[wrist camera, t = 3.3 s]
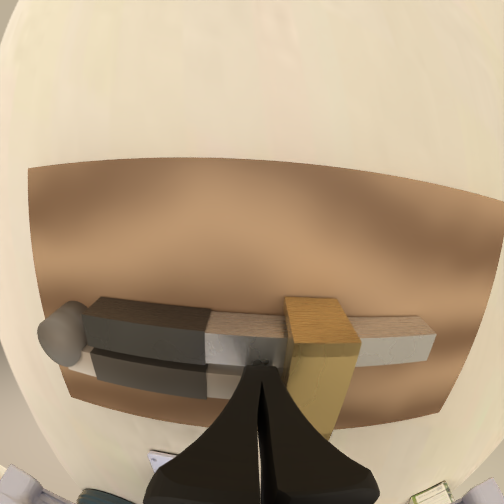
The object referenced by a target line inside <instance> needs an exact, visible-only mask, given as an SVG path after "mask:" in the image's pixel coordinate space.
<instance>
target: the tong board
mask: <svg viewBox="0 0 504 504" xmlns="http://www.w3.org/2000/svg"><path fill="white" fill-rule="evenodd" d="M28 203H29V221H30V233H31V242H32V251H33V258H34V265H35V271H36V277H37V283H38V288H39V293H40V298H41V303H42V307H43V311H44V315H45V320H44V321H43V322H41V323H40V324H39V326H38V330H37V334H38V339H39V342H40V344H41V346H42V348H43V350H44V351H45V353H46V354H47V355H48V356H49V357H50V358H51V359H52V360H53V361H55V362H56V363H58V364H59V366H60V369H61V372H62V375H63V377H64V380H65V383H66V385H67V388H68V390H69V393H70V395H71V397H73V398H76V399H79V400H82V401H85V402H89V403H92V404H95V405H99V406H102V407H106V408H109V409H113V410H117V411H121V412H125V413H129V414H133V415H138V416H142V417H147V418H152V419H157V420H162V421H168V422H174V423H180V424H187V425H194V426H202V427H210V426H211V424H212V423H213V422H214V421H215V420H216V418H217V417H218V416H219V415H220V413H221V412H222V410H223V409H224V407H225V406H226V404H227V403H228V401H229V400H230V398H231V397H232V395H233V393H234V391H235V389H236V387H237V385H238V383H239V381H240V379H241V376H242V373H243V369H244V367H245V366H236V365H223V364H212V363H206V365H198V364H189V363H181V362H174V361H166V360H160V359H153V358H147V357H141V356H135V355H130V354H124V353H119V352H114V351H109V350H104V349H100V348H95V347H91V346H88V342H87V338H86V334H85V329H84V325H83V320H82V315H81V314H82V313H83V312H84V311H85V310H86V309H88V308H89V307H90V306H91V305H92V304H93V303H94V302H95V301H96V300H98V299H99V298H100V297H108V298H115V299H123V300H130V301H138V302H147V303H156V304H165V305H174V306H185V307H195V308H207V309H212V311H215V312H228V313H243V314H259V315H279V316H285V314H284V309H283V307H284V298H285V297H305V298H334V299H337V300H338V302H339V304H340V305H341V307H342V309H343V310H344V312H345V314H346V316H347V317H409V316H420V317H421V318H422V319H423V320H424V322H425V323H426V324H427V325H428V326H429V327H430V328H431V329H432V330H433V331H434V332H435V333H436V334H437V335H436V337H435V340H434V343H433V346H432V348H431V351H430V353H429V356H428V358H427V361H419V362H410V363H401V364H390V365H378V366H362V367H355V369H354V372H353V375H352V378H351V381H350V384H349V387H348V390H347V393H346V396H345V399H344V402H343V405H342V407H341V410H340V413H339V416H338V418H337V421H336V424H335V426H334V429H345V428H355V427H363V426H371V425H378V424H385V423H391V422H396V421H402V420H407V419H412V418H417V417H421V416H426V415H430V414H434V413H438V412H439V411H440V410H441V408H442V406H443V404H444V403H445V401H446V399H447V397H448V395H449V394H450V392H451V390H452V388H453V386H454V384H455V382H456V380H457V378H458V376H459V374H460V372H461V370H462V367H463V365H464V363H465V361H466V359H467V356H468V354H469V352H470V349H471V347H472V344H473V342H474V339H475V337H476V334H477V332H478V329H479V326H480V324H481V321H482V318H483V315H484V312H485V309H486V306H487V303H488V299H489V296H490V293H491V289H492V286H493V282H494V278H495V274H496V270H497V266H498V262H499V257H500V253H501V248H502V243H503V237H504V202H503V201H499V200H496V199H492V198H489V197H485V196H482V195H478V194H474V193H470V192H467V191H463V190H458V189H454V188H450V187H446V186H441V185H437V184H432V183H428V182H423V181H418V180H413V179H408V178H403V177H397V176H391V175H386V174H380V173H373V172H367V171H360V170H353V169H346V168H338V167H330V166H322V165H313V164H303V163H292V162H280V161H266V160H250V159H228V158H138V159H117V160H102V161H89V162H78V163H68V164H58V165H50V166H42V167H35V168H28ZM278 371H279V374H280V376H281V378H282V373H283V368H278ZM257 431H258V427H257Z"/></svg>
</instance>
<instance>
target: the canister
mask: <svg viewBox="0 0 504 504" xmlns="http://www.w3.org/2000/svg"><path fill="white" fill-rule="evenodd" d="M77 504H133V503H131V502H129V501H126V500H124V499H121V498H119V497H116V496H113V495H111V494H108V493H105V492H101V491H97V490H92V489H85V490H83V492H82V493H81V494H80V495H79V497H78V499H77Z"/></svg>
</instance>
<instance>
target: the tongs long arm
mask: <svg viewBox="0 0 504 504" xmlns="http://www.w3.org/2000/svg"><path fill="white" fill-rule="evenodd" d="M81 315H82V320H83V325H84V329H85V334H86V338H87V342H88V346H91V347H95V348H100V349H104V350H109V351H114V352H119V353H124V354H130V355H135V356H141V357H147V358H153V359H160V360H166V361H174V362H181V363H189V364H198V365H206V363H212V364H223V365H236V366H246V365H256V366H276V367H277V368H283V367H284V360H285V354H286V347H287V340H288V331H287V326H286V320H285V316H279V315H259V314H243V313H228V312H215V311H212V309H207V308H195V307H185V306H174V305H165V304H156V303H147V302H138V301H130V300H123V299H115V298H108V297H100V298H99V299H98V300H96V301H95V302H94V303H93V304H92V305H91V306H90V307H89V308H88V309H86V310H85V311H84V312H83V313H82V314H81ZM348 319H349V321H350V323H351V324H352V326H353V328H354V330H355V331H356V333H357V335H358V337H359V338H360V340H361V342H362V345H361V348H360V352H359V355H358V359H357V362H356V365H355V367H362V366H378V365H390V364H401V363H410V362H419V361H427V358H428V356H429V353H430V351H431V348H432V346H433V343H434V340H435V337H436V335H437V334H436V333H435V332H434V331H433V330H432V329H431V328H430V327H429V326H428V325H427V324H426V323H425V322H424V320H423V319H422V318H421V317H420V316H409V317H348Z"/></svg>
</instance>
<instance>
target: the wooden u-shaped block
mask: <svg viewBox="0 0 504 504" xmlns="http://www.w3.org/2000/svg"><path fill="white" fill-rule="evenodd" d="M283 309H284V314H285V320H286V326H287V331H288V340H287V347H286V354H285V360H284V367H283V373H282V381H283V383H284V385H285V386H286V388H287V390H288V392H289V394H290V395H291V397H292V398H293V400H294V402H295V403H296V405H297V406H298V408H299V409H300V410H301V412H302V413H303V415H304V416H305V417H306V418H307V420H308V421H309V422H310V423H311V424H312V425H313V427H314V428H315V429H316V430H317V431H318V432H319V433H320V434H321V435H322V436H323V437H324V438H325V439H326V440H327V441H329V439H330V436H331V434H332V431H333V429H334V426H335V424H336V421H337V418H338V416H339V413H340V410H341V407H342V405H343V402H344V399H345V396H346V393H347V390H348V387H349V384H350V381H351V378H352V375H353V372H354V369H355V365H356V362H357V359H358V355H359V352H360V348H361V345H362V342H361V340H360V338H359V337H358V335H357V333H356V331H355V330H354V328H353V326H352V324H351V323H350V321H349V319H348V317H347V316H346V314H345V312H344V310H343V309H342V307H341V305H340V304H339V302H338V300H337V299H334V298H305V297H285V298H284V307H283Z"/></svg>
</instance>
